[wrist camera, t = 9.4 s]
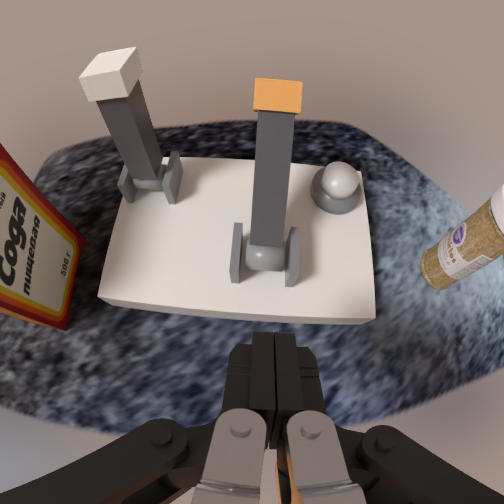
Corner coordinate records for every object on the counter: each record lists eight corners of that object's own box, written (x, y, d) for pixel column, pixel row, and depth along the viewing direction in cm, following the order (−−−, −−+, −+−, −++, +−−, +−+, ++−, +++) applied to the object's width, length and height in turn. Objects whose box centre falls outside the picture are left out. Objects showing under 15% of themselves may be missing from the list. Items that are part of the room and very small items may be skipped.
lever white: (172, 171, 26) (136, 46, 14) (165, 197, 24) (119, 70, 12) (144, 171, 26) (98, 53, 14) (136, 196, 25) (78, 78, 12)
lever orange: (281, 261, 23) (297, 87, 18) (283, 279, 21) (302, 82, 15) (245, 259, 23) (256, 84, 18) (243, 276, 21) (255, 77, 15)
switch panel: (351, 188, 29) (370, 153, 24) (361, 324, 24) (391, 310, 19) (143, 175, 30) (127, 138, 24) (112, 305, 24) (81, 286, 19)
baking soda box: (66, 331, 23) (-67, 273, 8) (21, 319, 23) (-96, 264, 8) (85, 238, 27) (-8, 132, 12) (40, 236, 27) (-49, 148, 12)
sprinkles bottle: (416, 247, 27) (496, 171, 15) (449, 252, 27) (529, 185, 15) (420, 290, 25) (515, 228, 13) (454, 292, 25) (546, 238, 13)
